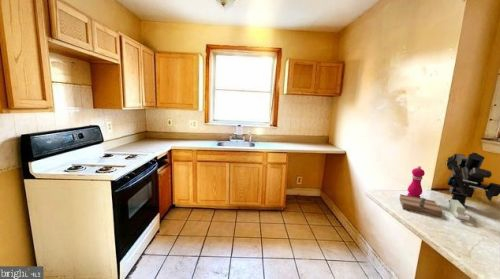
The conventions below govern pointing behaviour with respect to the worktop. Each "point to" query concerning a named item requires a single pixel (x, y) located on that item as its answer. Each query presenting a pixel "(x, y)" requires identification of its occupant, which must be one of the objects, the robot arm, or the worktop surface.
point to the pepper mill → (416, 183)
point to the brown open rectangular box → (420, 205)
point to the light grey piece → (458, 210)
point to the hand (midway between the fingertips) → (476, 196)
